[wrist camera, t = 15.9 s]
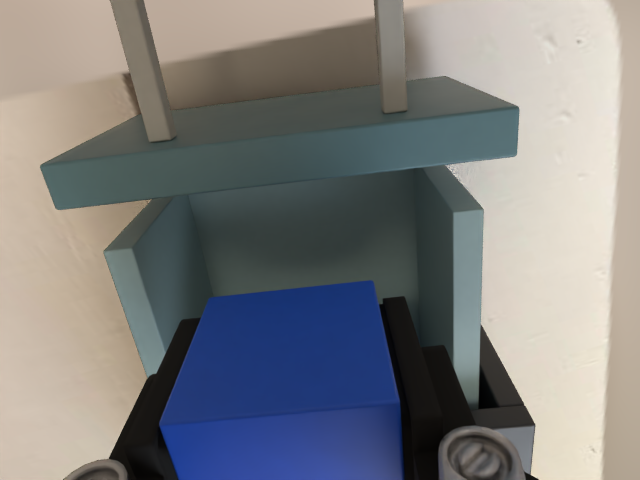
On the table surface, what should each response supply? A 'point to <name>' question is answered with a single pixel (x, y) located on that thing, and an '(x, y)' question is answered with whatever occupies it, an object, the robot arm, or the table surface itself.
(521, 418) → the dark grey drawer cabinet
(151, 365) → the drawer
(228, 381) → the blue block
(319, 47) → the table surface
